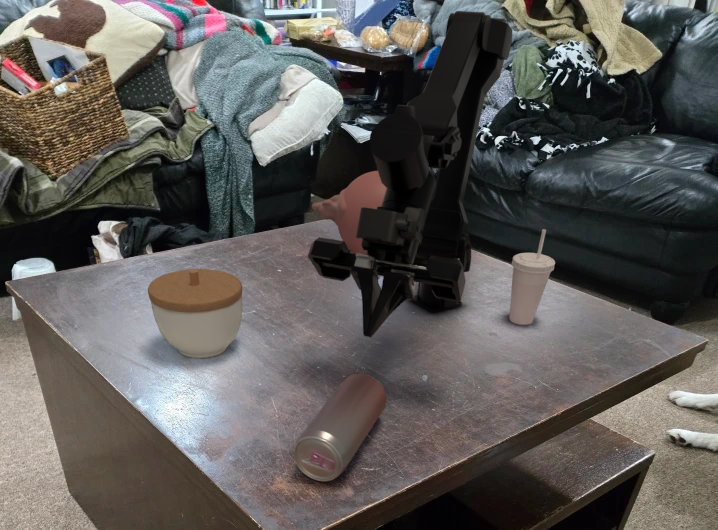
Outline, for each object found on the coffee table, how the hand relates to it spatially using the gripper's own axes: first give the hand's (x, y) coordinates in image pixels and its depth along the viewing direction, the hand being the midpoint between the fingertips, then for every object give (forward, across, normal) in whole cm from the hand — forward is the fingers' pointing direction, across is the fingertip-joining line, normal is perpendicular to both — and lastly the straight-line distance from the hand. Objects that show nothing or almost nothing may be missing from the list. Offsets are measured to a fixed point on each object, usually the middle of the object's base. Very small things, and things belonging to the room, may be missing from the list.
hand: (367, 335), depth 77 cm
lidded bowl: (+4, -26, +9) cm, 28 cm away
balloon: (-28, -18, +41) cm, 52 cm away
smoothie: (-17, +14, +30) cm, 38 cm away
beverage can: (+6, +1, +2) cm, 7 cm away
